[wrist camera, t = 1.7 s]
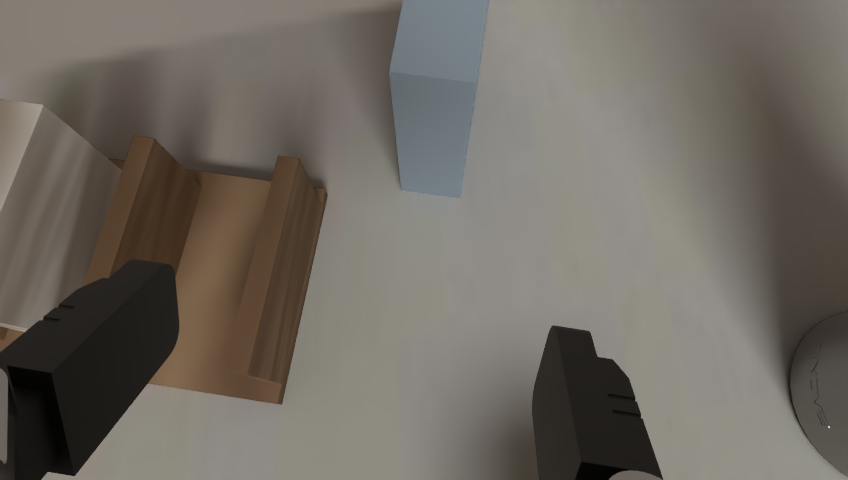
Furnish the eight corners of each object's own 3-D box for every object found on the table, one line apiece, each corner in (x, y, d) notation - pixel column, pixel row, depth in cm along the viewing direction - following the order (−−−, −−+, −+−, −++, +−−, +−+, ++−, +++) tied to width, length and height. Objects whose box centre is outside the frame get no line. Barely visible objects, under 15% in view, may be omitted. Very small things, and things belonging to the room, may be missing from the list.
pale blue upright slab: (476, 81, 36) (499, -77, 25) (459, 198, 34) (477, 83, 22) (421, 74, 36) (420, -86, 25) (401, 190, 34) (389, 71, 22)
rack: (327, 195, 34) (289, 105, 24) (281, 404, 30) (215, 396, 20) (67, 158, 34) (-70, 57, 25) (-8, 358, 31) (-202, 329, 21)
